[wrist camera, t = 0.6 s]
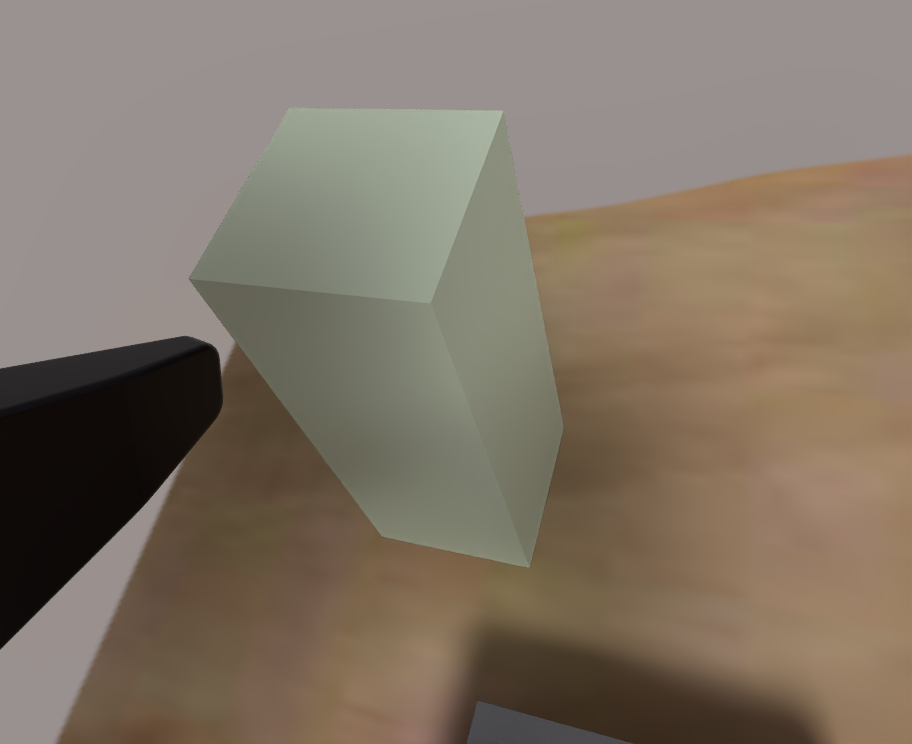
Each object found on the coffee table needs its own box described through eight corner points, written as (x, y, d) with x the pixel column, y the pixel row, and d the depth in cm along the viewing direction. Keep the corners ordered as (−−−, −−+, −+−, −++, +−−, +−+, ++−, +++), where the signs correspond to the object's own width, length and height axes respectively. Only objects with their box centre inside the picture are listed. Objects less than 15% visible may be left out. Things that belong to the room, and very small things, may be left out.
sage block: (529, 568, 24) (430, 303, 13) (381, 536, 25) (188, 279, 15) (564, 428, 26) (503, 110, 16) (427, 407, 28) (289, 108, 17)
